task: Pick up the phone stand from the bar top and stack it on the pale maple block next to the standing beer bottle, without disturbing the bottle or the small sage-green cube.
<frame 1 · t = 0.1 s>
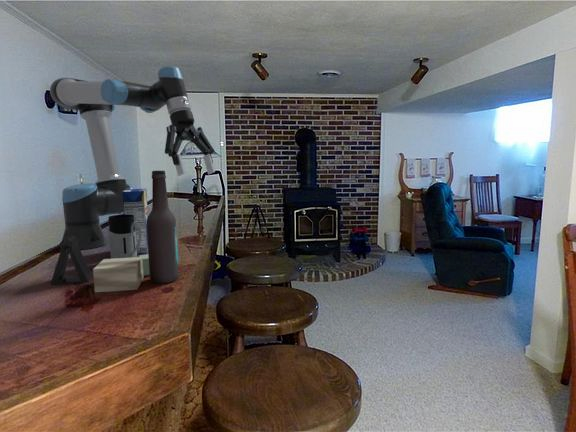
hand: (197, 173, 129), 28 cm above the bar counter, tool tilted 20°, fingers open, 13 cm apart
beverage box: (138, 251, 140), on the bar counter
sage cube: (150, 272, 114), on the bar counter
maple block: (120, 284, 103), on the bar counter
glass holder: (129, 263, 124), on the bar counter
beer bottle: (164, 280, 107), on the bar counter
phone stand: (72, 280, 107), on the bar counter
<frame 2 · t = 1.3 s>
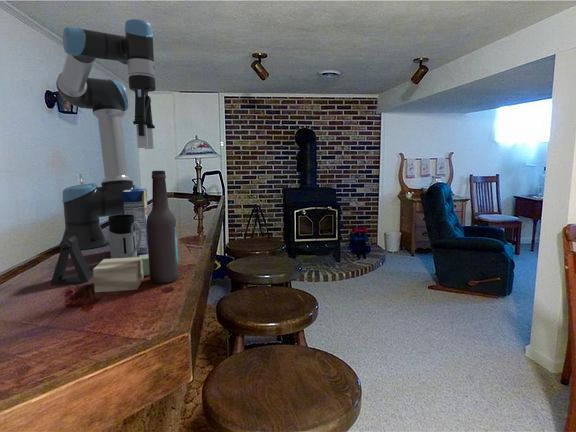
hand: (146, 148, 119), 36 cm above the bar counter, tool pointing down, fingers open, 13 cm apart
nothing on the bar counter moved.
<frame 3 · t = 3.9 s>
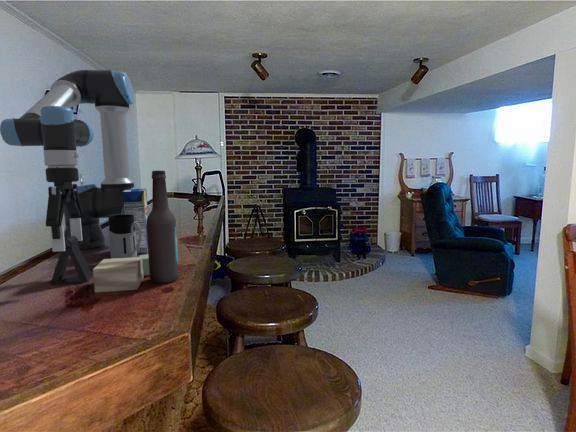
hand: (68, 245, 105), 10 cm above the bar counter, tool pointing down, fingers open, 13 cm apart
nothing on the bar counter moved.
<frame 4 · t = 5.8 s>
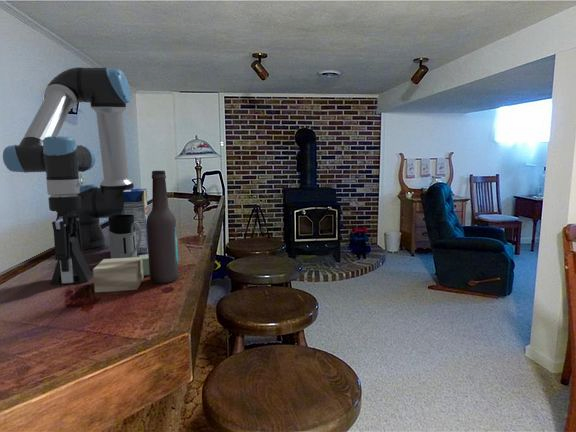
hand: (72, 278, 107), 0 cm above the bar counter, tool pointing down, fingers closed on phone stand, 6 cm apart
beverage box: (138, 251, 140), on the bar counter, touching arm
phone stand: (72, 280, 107), on the bar counter, touching gripper
everything else where it was.
when the fingers open (8 cm above the bar counter, at t = 11.6 s): phone stand drops 1 cm, resting on maple block.
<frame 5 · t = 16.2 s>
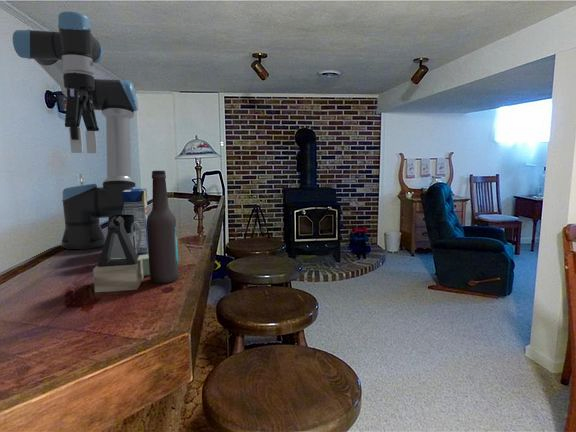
hand: (85, 153, 109), 35 cm above the bar counter, tool pointing down, fingers open, 13 cm apart
beverage box: (138, 251, 140), on the bar counter
phone stand: (118, 263, 102), point 6 cm above the bar counter, touching maple block
everything else where it was.
at the end: phone stand inside the target area on the maple block (0.1 cm from its centre), point 5.8 cm above the maple block's base; phone stand tilted 0°; beer bottle tilted 0° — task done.
